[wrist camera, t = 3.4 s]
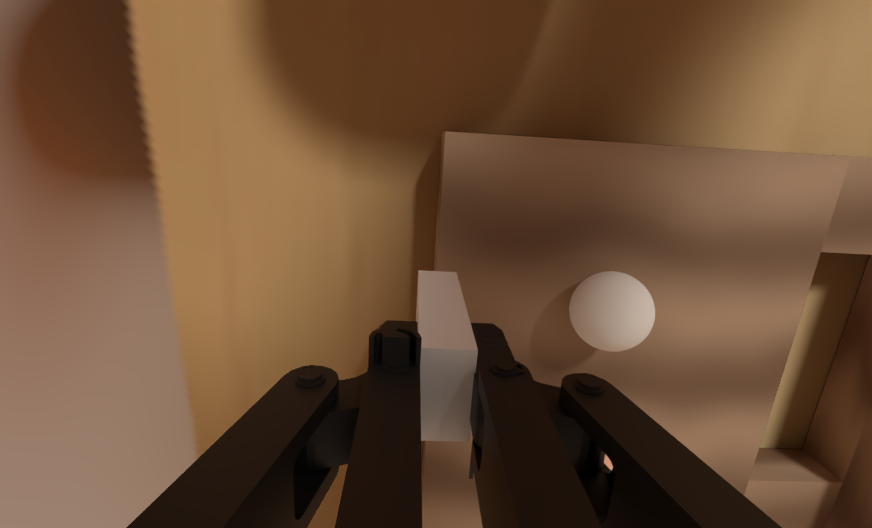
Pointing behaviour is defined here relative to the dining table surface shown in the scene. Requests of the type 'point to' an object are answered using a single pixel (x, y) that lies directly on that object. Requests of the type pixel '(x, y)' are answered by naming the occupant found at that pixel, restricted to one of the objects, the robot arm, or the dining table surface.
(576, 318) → the ball white
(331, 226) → the dining table surface
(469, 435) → the robot arm
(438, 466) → the board
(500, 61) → the dining table surface
